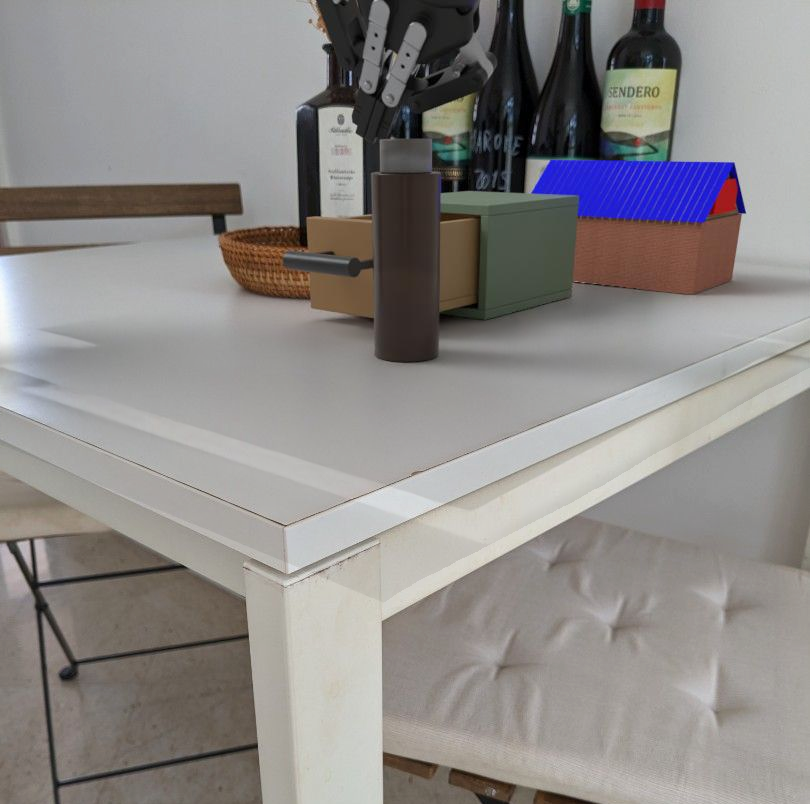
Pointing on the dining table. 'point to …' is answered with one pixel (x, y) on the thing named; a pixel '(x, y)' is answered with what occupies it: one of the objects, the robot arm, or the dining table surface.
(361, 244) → the drawer
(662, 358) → the dining table surface
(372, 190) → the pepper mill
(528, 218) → the cabinet
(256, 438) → the dining table surface
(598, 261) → the house
